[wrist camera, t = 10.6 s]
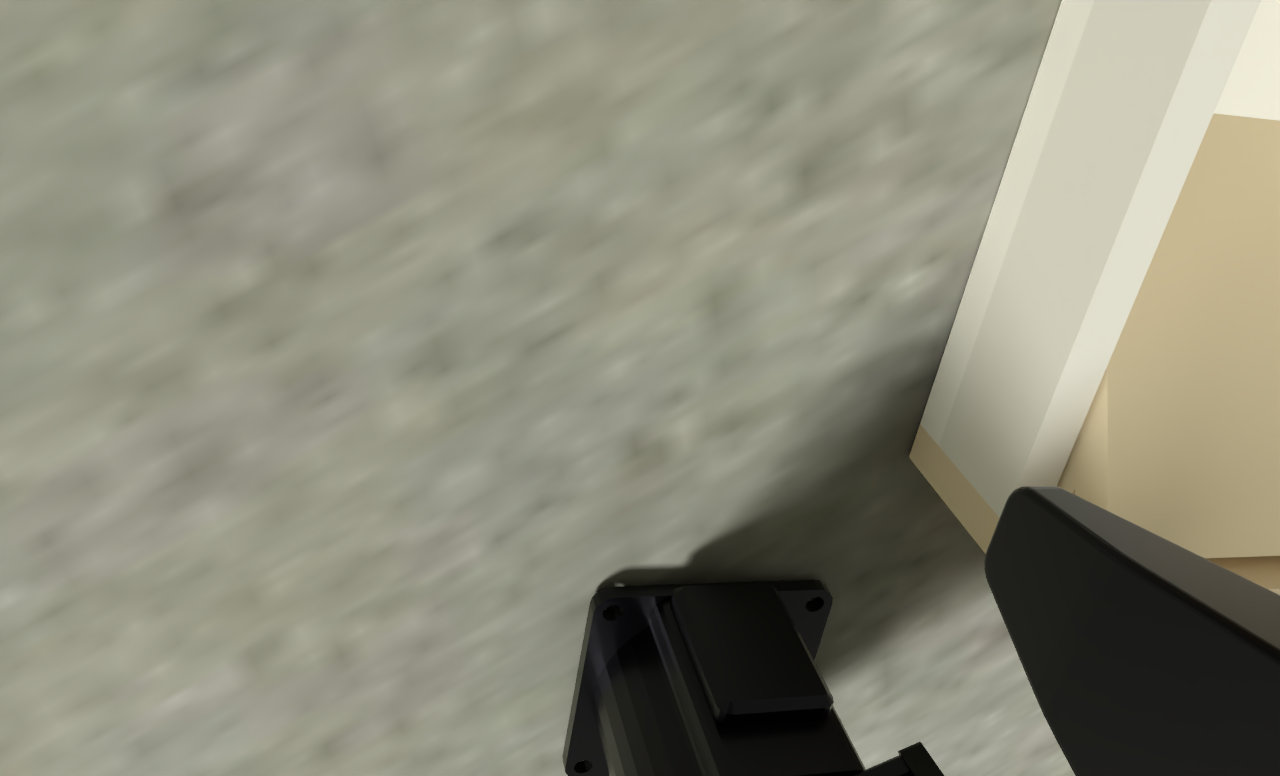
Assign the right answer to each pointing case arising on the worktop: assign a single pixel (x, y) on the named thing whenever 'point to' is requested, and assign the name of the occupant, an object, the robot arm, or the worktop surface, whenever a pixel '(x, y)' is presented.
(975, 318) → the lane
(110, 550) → the worktop surface
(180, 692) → the worktop surface
